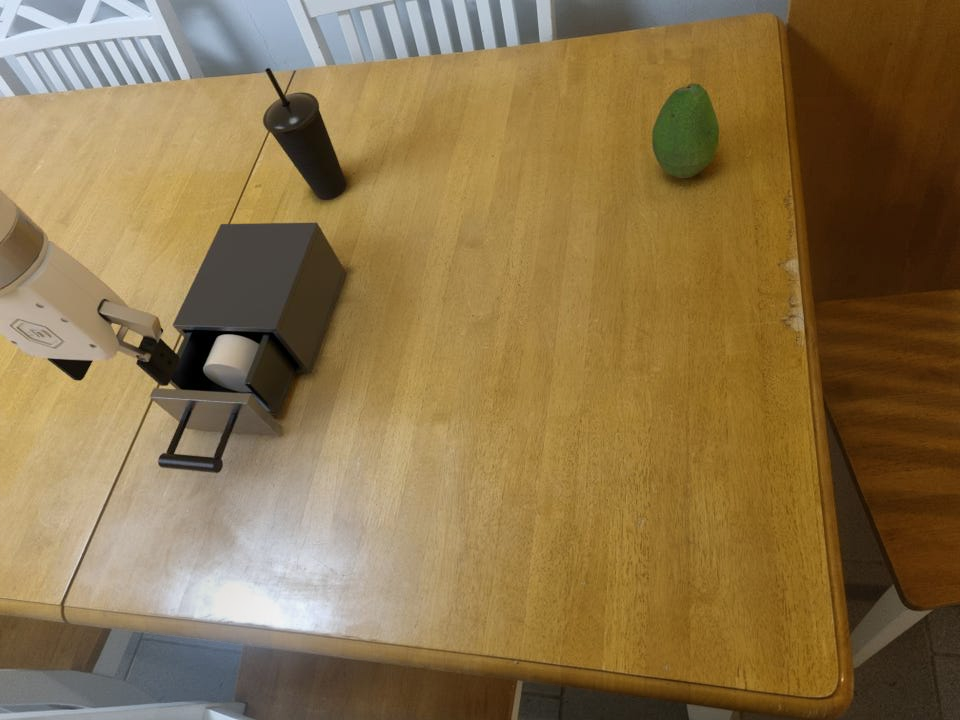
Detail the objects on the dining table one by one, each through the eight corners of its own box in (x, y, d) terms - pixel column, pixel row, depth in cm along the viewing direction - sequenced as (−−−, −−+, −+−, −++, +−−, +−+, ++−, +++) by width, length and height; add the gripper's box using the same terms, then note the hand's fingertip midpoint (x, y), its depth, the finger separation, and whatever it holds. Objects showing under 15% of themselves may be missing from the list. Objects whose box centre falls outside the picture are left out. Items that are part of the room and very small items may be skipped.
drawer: (259, 492, 80) (223, 462, 74) (164, 482, 84) (122, 453, 77) (317, 331, 91) (290, 293, 84) (230, 328, 94) (198, 291, 88)
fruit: (727, 153, 93) (733, 73, 83) (703, 197, 90) (706, 119, 80) (667, 141, 96) (666, 62, 86) (642, 183, 93) (638, 106, 83)
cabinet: (311, 373, 88) (275, 328, 81) (214, 368, 92) (171, 325, 84) (346, 272, 96) (317, 222, 88) (256, 271, 100) (220, 223, 92)
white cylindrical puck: (223, 359, 80) (235, 328, 82) (192, 370, 84) (205, 341, 86) (269, 386, 84) (280, 357, 86) (237, 396, 88) (249, 367, 90)
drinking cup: (323, 215, 103) (256, 98, 87) (296, 191, 107) (228, 75, 91) (365, 184, 105) (308, 63, 88) (338, 161, 109) (278, 42, 93)
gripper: (-124, 288, 56) (36, 399, 70) (56, 291, 51) (190, 410, 65) (-68, 215, 60) (73, 334, 73) (104, 211, 55) (221, 340, 69)
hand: (128, 370), depth 69 cm, fingers open, 9 cm apart
